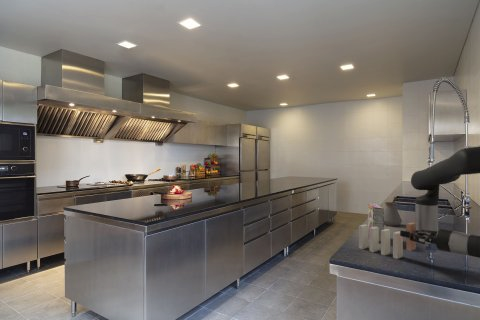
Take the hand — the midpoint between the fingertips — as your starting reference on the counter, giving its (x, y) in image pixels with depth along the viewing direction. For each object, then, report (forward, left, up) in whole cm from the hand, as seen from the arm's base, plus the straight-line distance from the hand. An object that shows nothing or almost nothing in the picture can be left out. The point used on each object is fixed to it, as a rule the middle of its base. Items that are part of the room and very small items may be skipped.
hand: (403, 232), depth 115 cm
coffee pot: (-58, -34, -11) cm, 68 cm away
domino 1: (0, -17, -11) cm, 20 cm away
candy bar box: (-18, -22, -11) cm, 30 cm away
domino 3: (0, -7, -11) cm, 13 cm away
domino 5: (0, +3, -6) cm, 7 cm away
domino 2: (0, -12, -11) cm, 16 cm away
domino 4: (0, -2, -11) cm, 11 cm away
